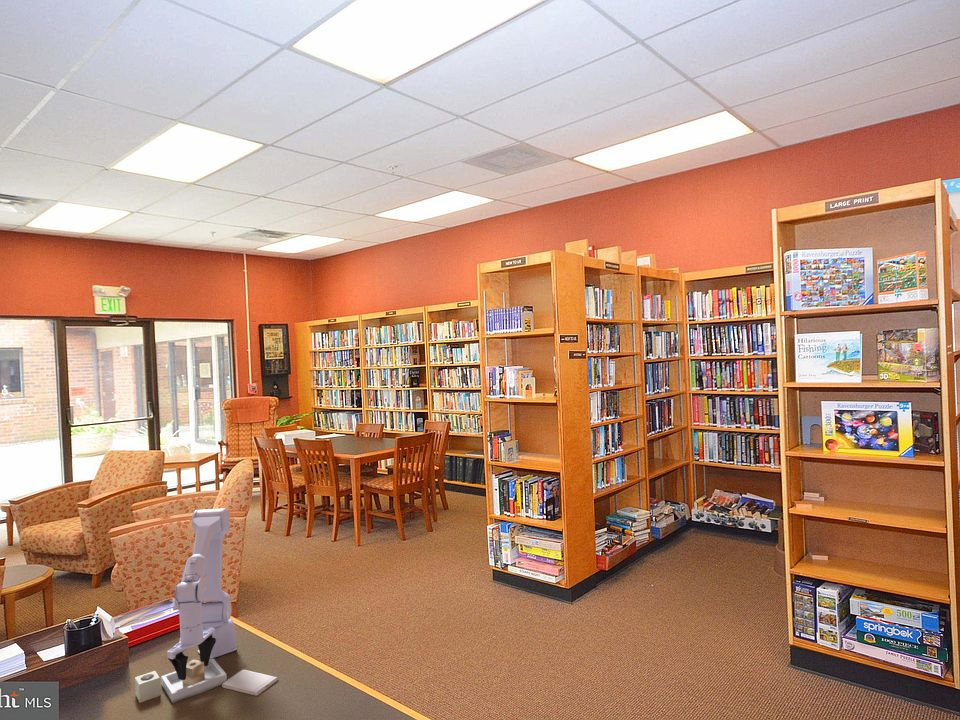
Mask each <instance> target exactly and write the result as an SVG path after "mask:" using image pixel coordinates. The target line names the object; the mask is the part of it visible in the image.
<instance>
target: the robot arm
mask: <svg viewBox="0 0 960 720" xmlns="http://www.w3.org/2000/svg"><path fill="white" fill-rule="evenodd" d="M191 516H192V517H191V527H192V530H193V532H194V534H195V535H194V536H195V537H194V542H193V549H192V553H191V554H192V555H191V556H190V557H188V558H187V559H186V561H185V562H186V563H185V567H184V570H183V574H182V578H181V579H180V580H181V581H180V583H178V584H177V585H176V587H175V589H174V590H175V591H174V603H175V604H176V609H177V611H178V613H179V633H180V635H179V636H180V638H179V642H177V643H176V644H174V646H173V647H172V648H170V649H168V650H167V651H166V653H167V655H166V657H167V659H168V660H169V662H170V663H171V664H172V666H173V668H174V670H175V671H176V673H177V675H178V679H180V680H185V679H186V665H187V663H188V660H189V655H188V656H187V655H185V653H184V652H186V651H188V650H190V649H192V648H194V647H198V650H197V653H198V654H199V661H202V662H204V666H208V663H209V660H210V659H215V658H218V657H221V656H223V655H226V654H229V653H232V652H235V651H237V650H238V648H237V643H236V641H237V638H236V627H235V623H234V620H233V618H231V616H232V609H233V608H232V602H231V601H232V600H231V595H229V593H227V592H225V591H224V590H223V589H222V586H223V585H222V583H223V582H222V580H223V579H222V578H223V577H222V576H223V557H224V555H223V552H224V550H223V549H224V537H225V535H227V534H229V533H230V529H231V528H230V526H231V525H230V524H231V523H230V521H231V515H230V511H229V509H228V507H223V508H208V509H207V508H206V509H195V510H194V511H193V513H192V515H191Z"/></svg>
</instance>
